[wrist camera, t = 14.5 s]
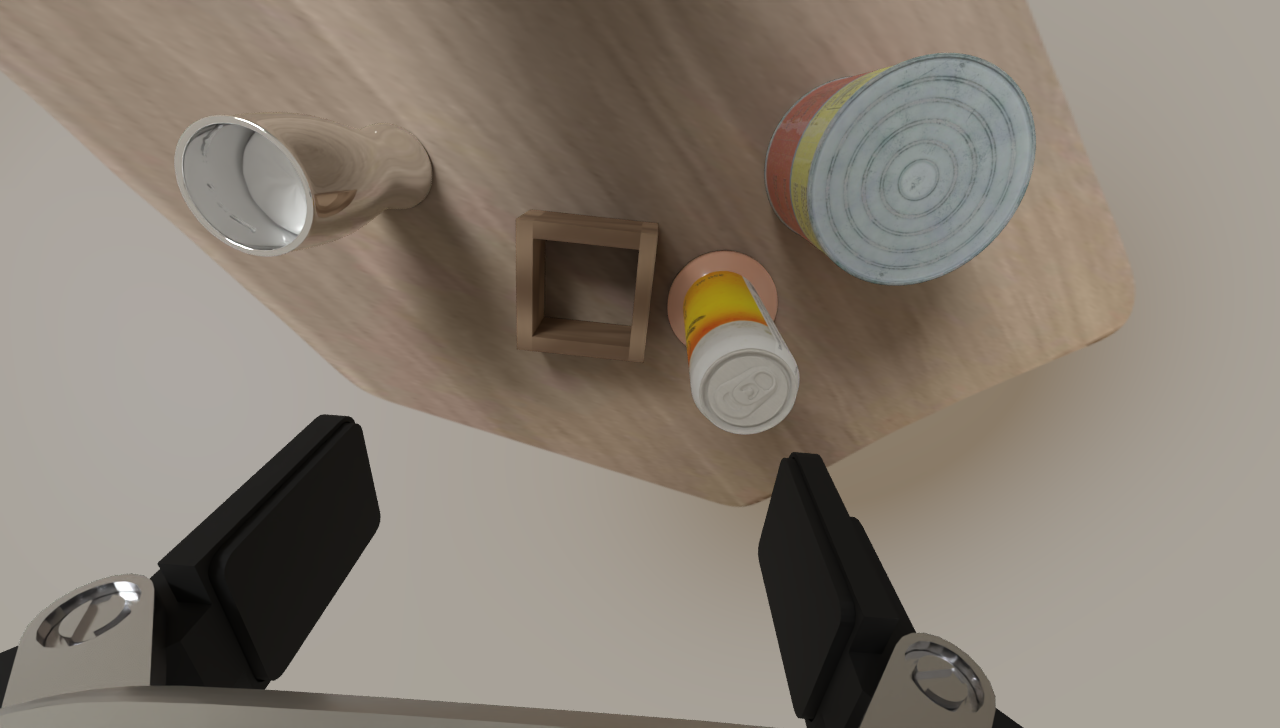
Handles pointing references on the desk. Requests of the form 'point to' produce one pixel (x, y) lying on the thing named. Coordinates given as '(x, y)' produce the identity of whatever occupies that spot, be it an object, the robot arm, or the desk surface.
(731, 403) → the beer can
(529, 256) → the can holder
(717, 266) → the peach flat disc
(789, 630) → the robot arm
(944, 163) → the canned food
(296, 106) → the desk surface
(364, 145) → the beer glass
